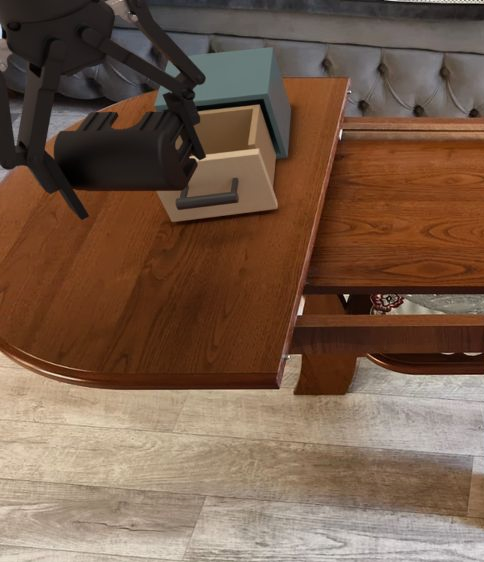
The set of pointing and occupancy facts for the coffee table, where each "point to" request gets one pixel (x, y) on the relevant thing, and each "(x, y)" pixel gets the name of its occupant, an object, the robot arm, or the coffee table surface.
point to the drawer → (227, 167)
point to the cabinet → (241, 88)
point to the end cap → (126, 154)
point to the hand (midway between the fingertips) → (140, 181)
